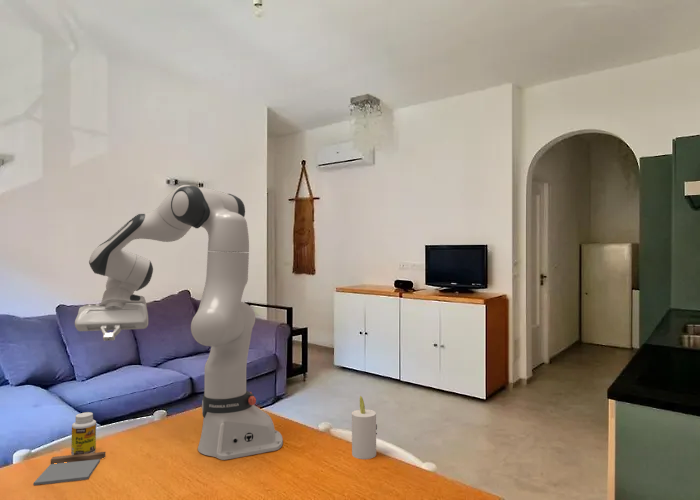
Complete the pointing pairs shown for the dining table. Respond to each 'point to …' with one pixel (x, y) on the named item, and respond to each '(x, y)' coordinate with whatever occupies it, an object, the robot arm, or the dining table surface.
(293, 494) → the dining table surface
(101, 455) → the strip
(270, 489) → the dining table surface
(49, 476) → the felt tile
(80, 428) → the supplement bottle
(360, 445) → the candle
